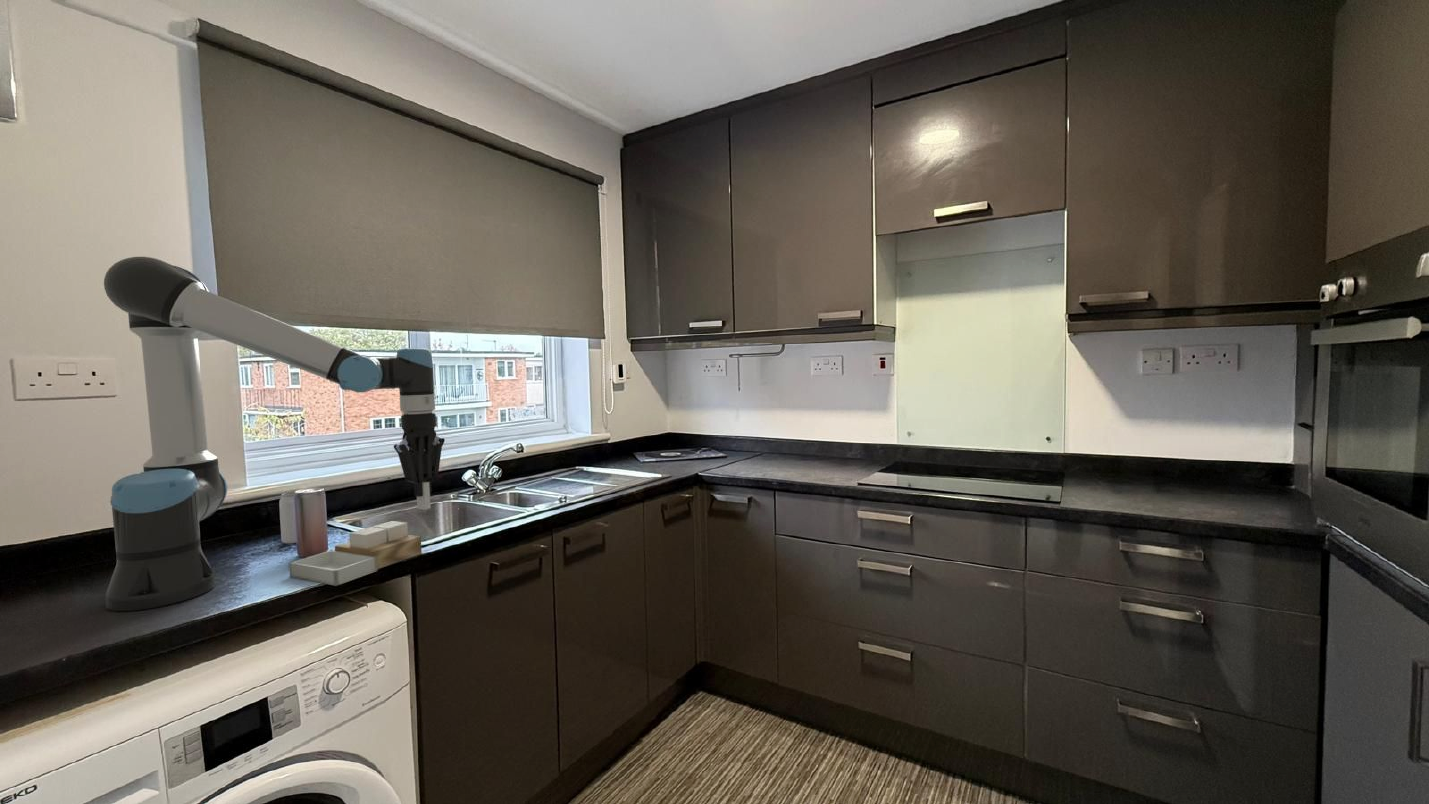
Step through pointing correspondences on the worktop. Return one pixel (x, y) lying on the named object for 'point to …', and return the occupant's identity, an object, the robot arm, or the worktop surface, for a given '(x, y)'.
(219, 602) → the worktop surface
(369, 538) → the tile front
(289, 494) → the can
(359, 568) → the tray
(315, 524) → the beverage can
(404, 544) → the board
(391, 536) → the tile rear
